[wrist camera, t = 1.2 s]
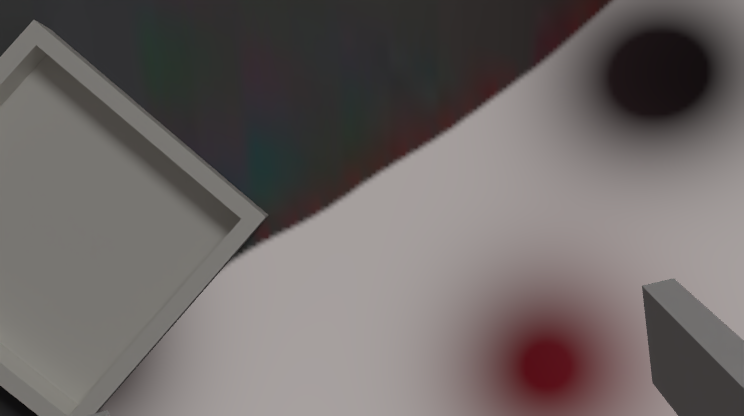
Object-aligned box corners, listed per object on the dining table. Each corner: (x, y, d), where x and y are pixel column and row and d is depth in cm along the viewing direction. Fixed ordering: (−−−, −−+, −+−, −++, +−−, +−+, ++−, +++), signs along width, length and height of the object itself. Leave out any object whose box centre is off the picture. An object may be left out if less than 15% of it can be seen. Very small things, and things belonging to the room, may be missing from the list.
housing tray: (-142, 245, 40) (-172, 249, 37) (51, 29, 41) (34, 19, 38) (85, 426, 41) (70, 441, 39) (268, 215, 42) (265, 217, 39)
